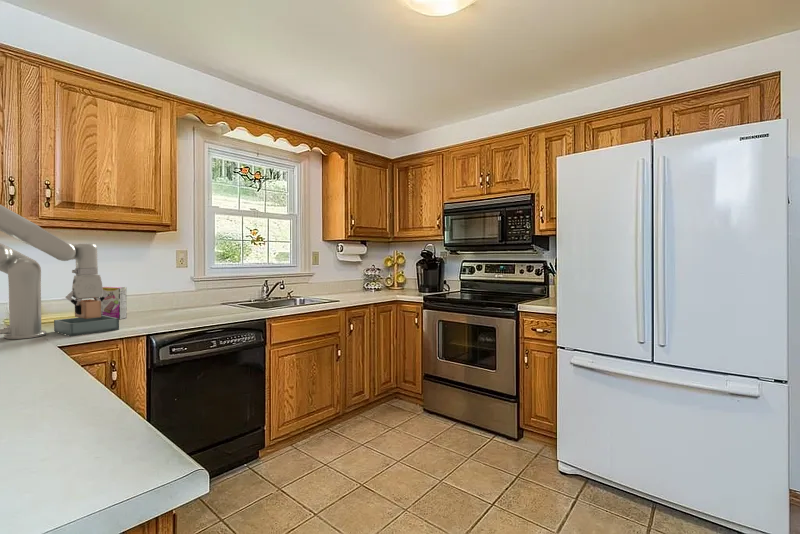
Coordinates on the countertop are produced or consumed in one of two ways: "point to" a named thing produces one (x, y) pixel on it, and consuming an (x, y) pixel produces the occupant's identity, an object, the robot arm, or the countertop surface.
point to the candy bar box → (114, 302)
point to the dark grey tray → (86, 325)
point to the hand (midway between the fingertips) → (88, 312)
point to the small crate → (89, 309)
